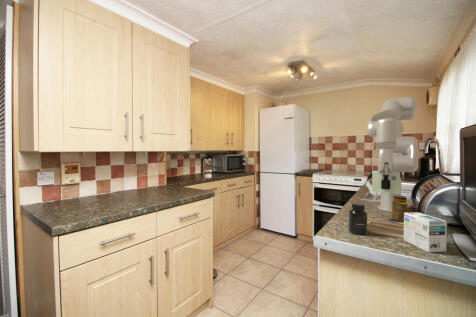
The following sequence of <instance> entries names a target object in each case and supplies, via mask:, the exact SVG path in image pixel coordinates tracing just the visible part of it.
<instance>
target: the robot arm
mask: <svg viewBox="0 0 476 317" xmlns="http://www.w3.org/2000/svg"><path fill="white" fill-rule="evenodd" d="M417 106H418V105H417V100H416V98H414V97H412V96H404V97H397V98H396V97H395V98H391V99H388V100H386V101H384V102H383V105H382V107H381V109H380V110H379V111H378V112H376V113H375V114H373V115H372V116H371V117H370V118H369V120H368V122H367V125H366V133H367V135H368V136H369V137H372V138H375V139H376V140H375V144H376V145H375V150H376V151H378V155H377V156H378V158H377V160H378V163H377V165H378V166H377V168H378V169H377V171H378V172H379V173H380V171H382V180H381V189H390V173H391V172H400V173H415V172H417V171H418V168H419V141H418V139H417V137H416V136H407V135H406V136H403V135H402V134H403V131H404V128H405V127H404V124H403V122H402V121H410V120H414V119H415V118H416V115H417V109H418V108H417ZM383 172H384V173H383ZM388 172H389V173H388ZM383 179H384V180H383ZM395 195H399V196H402V178H401V177H400V194H397V193H385V192H380V204H379V205H377V209H379V210H380V211H384V212H388V213H392V201H393V196H395Z"/></svg>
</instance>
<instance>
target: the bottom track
mask: <svg viewBox="0 0 476 317" xmlns="http://www.w3.org/2000/svg"><path fill="white" fill-rule="evenodd" d="M367 233H370V234H375V235H376V234H379V235H383V236H390V237H395V238H396V237H397V238H401V239H404V224H398V223H389V222H383V221H382V222H381V221H374V220H370V219H369V220H368V219H367Z"/></svg>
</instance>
